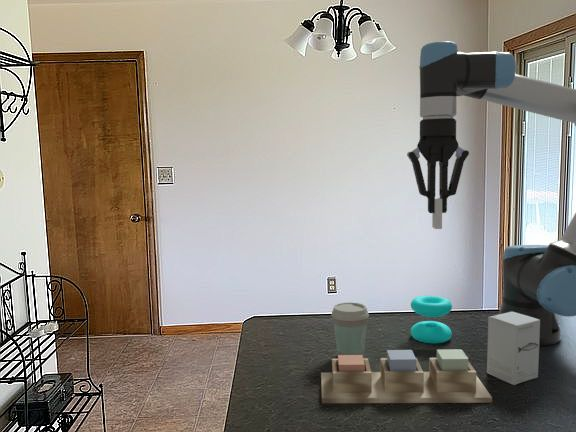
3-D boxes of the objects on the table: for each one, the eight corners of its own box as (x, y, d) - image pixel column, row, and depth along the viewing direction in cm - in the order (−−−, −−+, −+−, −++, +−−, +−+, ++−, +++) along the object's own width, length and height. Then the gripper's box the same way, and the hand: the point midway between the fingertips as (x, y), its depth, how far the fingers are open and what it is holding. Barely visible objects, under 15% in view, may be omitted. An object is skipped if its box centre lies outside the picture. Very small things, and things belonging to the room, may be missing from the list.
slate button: (411, 368, 112) (411, 349, 111) (416, 378, 107) (416, 359, 106) (387, 368, 112) (387, 350, 112) (390, 379, 107) (390, 359, 107)
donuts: (449, 294, 141) (454, 305, 131) (448, 332, 142) (454, 345, 132) (409, 293, 142) (412, 305, 133) (409, 330, 144) (412, 344, 134)
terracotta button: (362, 373, 112) (362, 354, 112) (364, 384, 108) (364, 364, 107) (338, 373, 113) (337, 355, 112) (339, 384, 108) (339, 364, 107)
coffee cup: (368, 365, 122) (367, 313, 121) (330, 363, 124) (329, 311, 122) (370, 351, 131) (369, 302, 129) (334, 349, 132) (333, 301, 131)
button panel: (473, 375, 115) (473, 353, 114) (492, 402, 103) (492, 377, 103) (321, 377, 117) (320, 354, 116) (322, 403, 105) (321, 378, 104)
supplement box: (514, 386, 110) (516, 325, 108) (485, 373, 116) (486, 315, 115) (539, 378, 113) (541, 319, 112) (510, 366, 120) (511, 310, 118)
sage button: (461, 368, 111) (461, 349, 111) (468, 378, 106) (468, 358, 106) (436, 368, 112) (436, 349, 111) (442, 378, 107) (442, 359, 106)
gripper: (464, 118, 120) (462, 224, 123) (404, 120, 120) (404, 226, 123) (474, 116, 112) (472, 230, 115) (410, 118, 113) (410, 231, 116)
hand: (437, 227), depth 119 cm, fingers closed
